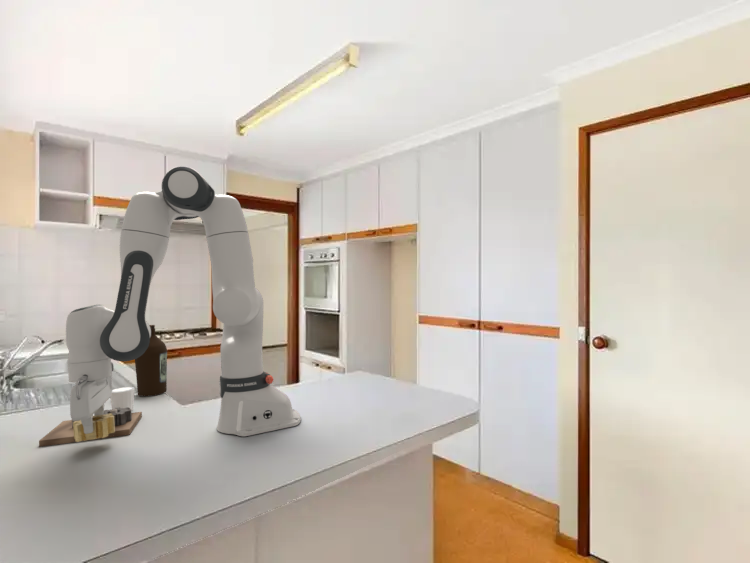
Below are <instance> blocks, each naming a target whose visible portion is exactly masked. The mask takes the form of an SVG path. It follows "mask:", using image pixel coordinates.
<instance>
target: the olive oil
mask: <svg viewBox="0 0 750 563" xmlns="http://www.w3.org/2000/svg"><path fill="white" fill-rule="evenodd" d="M149 325H150V328H151V337H150V343H149V346H148V348H147V350H146V351H145V352H144V354H142V355H141V356H140V357H138V358H137V359H134V363H135V364H134V365H135V366H134V367H135V376H136V387H137V388H136V389H137V396H139V397H155V396H160V395H162V394H165V393H166V392H167V390H168V388H167V383H168V382H167V374H168V372H167V370H168V369H167V368H168V362H167V361H168V348H167V345H166V344H165V342H164V341H163V340H162V339H160V338H159V337H158V336H157V335H156V328H155V327H156V325H155V324H149Z"/></svg>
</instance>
